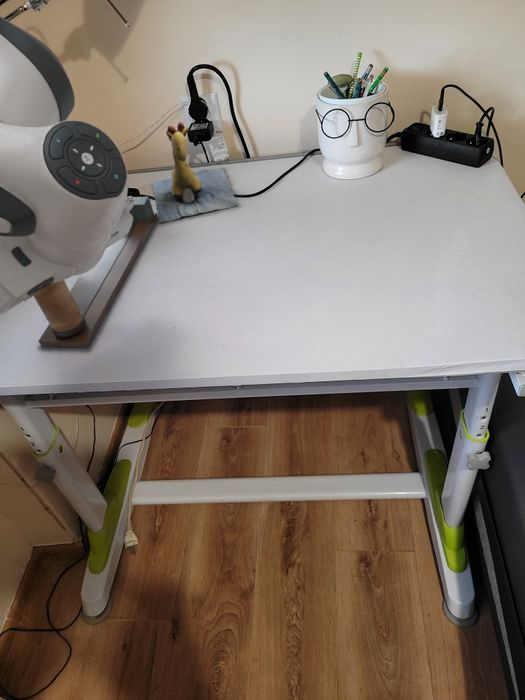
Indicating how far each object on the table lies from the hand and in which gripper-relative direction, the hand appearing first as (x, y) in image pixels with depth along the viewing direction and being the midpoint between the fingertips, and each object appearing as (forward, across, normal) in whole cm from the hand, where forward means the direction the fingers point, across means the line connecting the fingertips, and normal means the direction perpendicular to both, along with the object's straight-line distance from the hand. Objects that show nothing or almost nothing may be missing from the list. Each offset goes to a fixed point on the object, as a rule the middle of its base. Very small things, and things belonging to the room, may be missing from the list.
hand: (54, 275), depth 69 cm
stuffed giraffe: (+24, -41, -4) cm, 48 cm away
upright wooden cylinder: (+12, 0, +5) cm, 13 cm away
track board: (+19, -13, 0) cm, 23 cm away
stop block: (+25, -27, -6) cm, 37 cm away
